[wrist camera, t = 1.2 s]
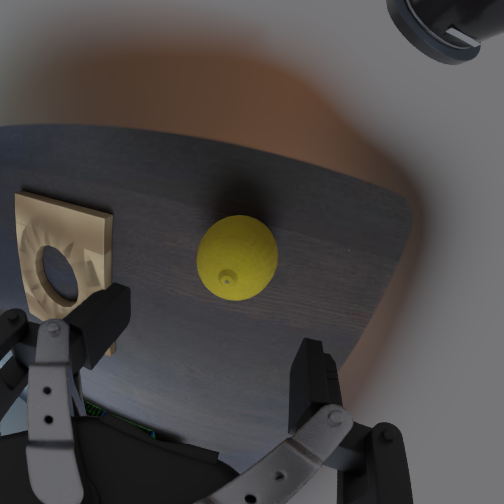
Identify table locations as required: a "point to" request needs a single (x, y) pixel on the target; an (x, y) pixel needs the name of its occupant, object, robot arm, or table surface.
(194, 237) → the table surface
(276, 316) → the table surface
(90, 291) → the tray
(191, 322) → the table surface
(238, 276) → the lemon
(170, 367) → the table surface
